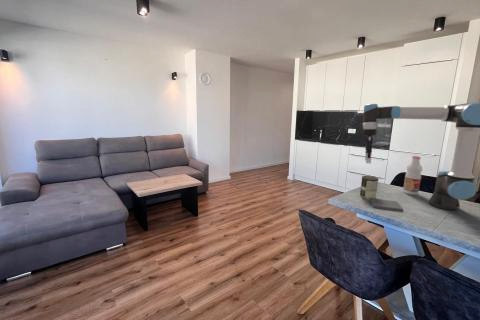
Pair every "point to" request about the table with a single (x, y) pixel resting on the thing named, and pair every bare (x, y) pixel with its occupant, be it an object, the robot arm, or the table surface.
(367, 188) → the coffee can
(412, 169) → the fruit juice
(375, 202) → the mat
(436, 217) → the table surface
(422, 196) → the table surface
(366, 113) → the robot arm
